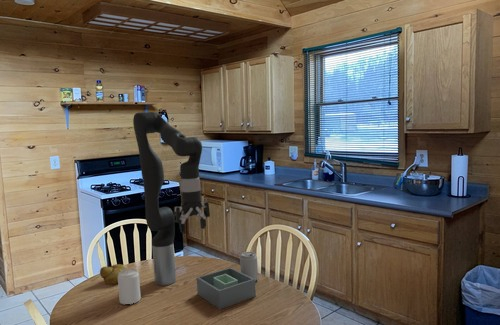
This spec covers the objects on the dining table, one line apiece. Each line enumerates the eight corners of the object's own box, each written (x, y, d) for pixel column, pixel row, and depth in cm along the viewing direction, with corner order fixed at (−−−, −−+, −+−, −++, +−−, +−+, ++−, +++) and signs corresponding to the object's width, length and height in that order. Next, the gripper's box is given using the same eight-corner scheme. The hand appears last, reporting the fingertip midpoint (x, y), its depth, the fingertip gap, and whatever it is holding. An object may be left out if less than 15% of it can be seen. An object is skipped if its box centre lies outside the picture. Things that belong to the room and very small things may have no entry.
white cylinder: (144, 297, 161) (142, 269, 160) (132, 306, 153) (130, 276, 152) (128, 295, 164) (125, 267, 163) (115, 304, 156) (112, 275, 155)
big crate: (197, 293, 162) (196, 277, 162) (231, 282, 172) (230, 267, 171) (220, 309, 148) (219, 291, 147) (255, 296, 158) (254, 279, 157)
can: (256, 283, 170) (255, 256, 169) (239, 283, 171) (238, 256, 170) (259, 277, 177) (258, 251, 176) (243, 276, 179) (241, 250, 177)
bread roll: (117, 274, 189) (115, 258, 188) (134, 276, 186) (133, 259, 185) (98, 285, 177) (97, 267, 176) (116, 287, 173) (115, 269, 173)
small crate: (214, 291, 162) (213, 277, 161) (226, 287, 165) (225, 273, 165) (225, 299, 155) (225, 284, 154) (238, 294, 158) (237, 280, 157)
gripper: (202, 186, 160) (204, 225, 161) (169, 190, 151) (172, 232, 153) (211, 188, 154) (213, 229, 155) (178, 193, 145) (180, 236, 147)
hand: (193, 230), depth 154 cm, fingers open, 8 cm apart
